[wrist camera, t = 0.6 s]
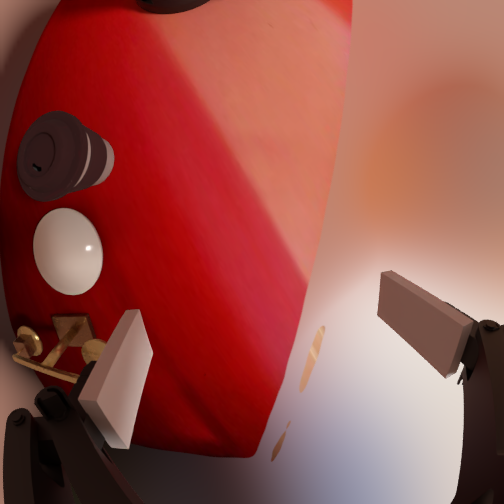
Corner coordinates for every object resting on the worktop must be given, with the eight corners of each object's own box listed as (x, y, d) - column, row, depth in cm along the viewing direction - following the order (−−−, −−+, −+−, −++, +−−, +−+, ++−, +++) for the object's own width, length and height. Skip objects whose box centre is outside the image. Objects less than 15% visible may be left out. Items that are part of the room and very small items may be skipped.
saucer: (31, 214, 33) (27, 216, 32) (97, 200, 35) (93, 201, 34) (47, 293, 37) (44, 296, 36) (112, 289, 39) (109, 292, 37)
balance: (27, 314, 37) (-15, 352, 23) (128, 311, 40) (97, 366, 25) (37, 340, 39) (1, 383, 24) (136, 342, 41) (113, 401, 27)
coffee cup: (108, 117, 32) (59, 89, 18) (134, 171, 35) (89, 165, 20) (59, 154, 32) (0, 147, 18) (83, 206, 35) (25, 221, 20)
